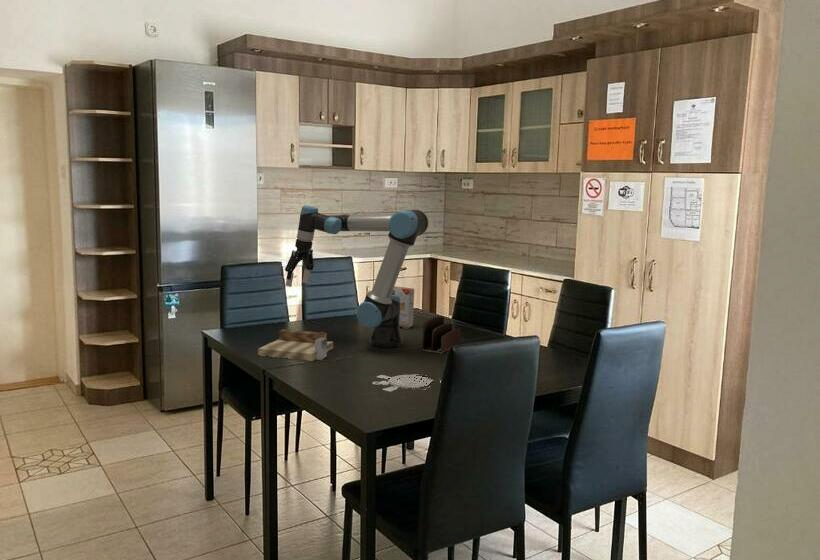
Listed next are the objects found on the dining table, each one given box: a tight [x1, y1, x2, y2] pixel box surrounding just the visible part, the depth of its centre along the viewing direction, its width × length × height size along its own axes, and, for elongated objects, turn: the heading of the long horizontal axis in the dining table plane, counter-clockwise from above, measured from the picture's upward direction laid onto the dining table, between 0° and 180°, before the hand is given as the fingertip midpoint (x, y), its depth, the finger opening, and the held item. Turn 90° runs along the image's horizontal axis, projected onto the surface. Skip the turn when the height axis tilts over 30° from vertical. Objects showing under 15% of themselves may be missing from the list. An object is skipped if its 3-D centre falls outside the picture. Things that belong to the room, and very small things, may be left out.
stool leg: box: [278, 328, 328, 343], centre depth 293 cm, size 21×4×5 cm, turn 76°
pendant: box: [372, 373, 442, 393], centre depth 246 cm, size 21×28×1 cm
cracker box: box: [391, 285, 415, 327], centre depth 345 cm, size 14×6×21 cm, turn 62°
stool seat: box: [257, 338, 334, 362], centre depth 286 cm, size 24×24×3 cm
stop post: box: [314, 338, 328, 361], centre depth 276 cm, size 3×6×8 cm, turn 165°
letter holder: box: [421, 315, 462, 352], centre depth 301 cm, size 10×20×14 cm, turn 151°
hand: (296, 284), depth 307 cm, fingers open, 13 cm apart
